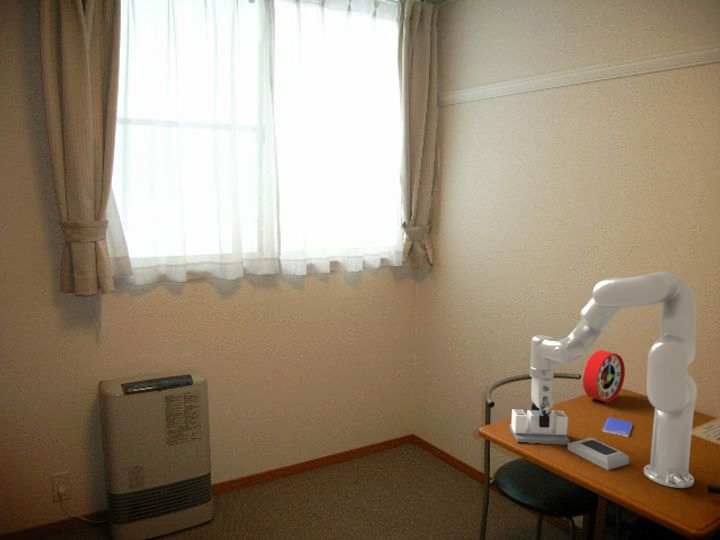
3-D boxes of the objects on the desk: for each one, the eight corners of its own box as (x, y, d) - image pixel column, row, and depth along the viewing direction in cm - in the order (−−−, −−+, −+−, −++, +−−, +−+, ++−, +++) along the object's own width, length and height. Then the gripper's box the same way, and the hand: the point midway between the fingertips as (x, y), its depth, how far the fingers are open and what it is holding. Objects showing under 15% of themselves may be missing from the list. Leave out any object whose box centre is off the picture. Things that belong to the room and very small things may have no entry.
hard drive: (628, 434, 182) (632, 422, 192) (602, 428, 186) (607, 417, 197) (628, 438, 182) (632, 426, 193) (602, 432, 187) (607, 421, 197)
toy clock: (594, 406, 210) (598, 357, 208) (581, 402, 215) (584, 353, 213) (623, 397, 221) (626, 350, 219) (610, 393, 226) (613, 347, 224)
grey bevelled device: (588, 434, 176) (629, 453, 163) (588, 445, 176) (628, 464, 163) (568, 439, 172) (608, 459, 158) (567, 450, 172) (607, 471, 159)
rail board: (569, 444, 176) (570, 420, 175) (517, 442, 176) (518, 418, 176) (558, 429, 187) (559, 406, 186) (509, 428, 188) (510, 405, 187)
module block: (551, 433, 179) (552, 415, 178) (530, 432, 179) (530, 415, 179) (546, 427, 184) (547, 410, 183) (526, 426, 184) (527, 409, 184)
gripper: (561, 380, 171) (559, 432, 172) (545, 365, 188) (543, 412, 190) (537, 380, 171) (535, 431, 173) (524, 365, 188) (522, 411, 190)
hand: (539, 421), depth 181 cm, fingers open, 9 cm apart
